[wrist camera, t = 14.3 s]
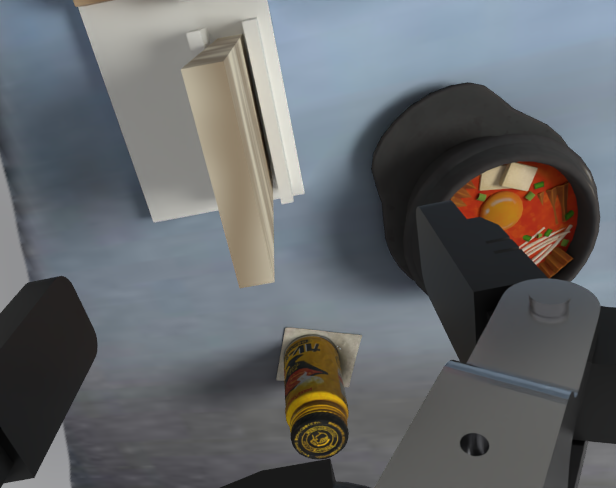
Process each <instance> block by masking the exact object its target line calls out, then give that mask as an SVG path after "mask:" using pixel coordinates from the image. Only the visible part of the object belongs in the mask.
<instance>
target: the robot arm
mask: <svg viewBox="0 0 616 488" xmlns="http://www.w3.org/2000/svg"><path fill="white" fill-rule="evenodd" d="M416 221H417V231H418V240H419V250H420V260H421V269H422V275H423V280H424V284H425V288H426V291H427V294H428V296H429V298H430V300H431V302H432V304H433V306H434V308H435V311H436V313H437V315H438V317H439V319H440V321H441V323H442V325H443V327H444V329H445V331H446V333H447V335H448V337H449V339H450V341H451V344H452V346H453V348H454V350H455V352H456V354H457V356H458V358H459V360H460V361H456V360H450V361H449V362H447V363H446V365H445V366H444V367H443V369H442V370H441V372H440V374H439V376H438V377H437V379H436V381H435V383H434V384H433V386H432V388H431V389H430V391H429V393H428V395H427V396H426V398H425V400H424V402H423V403H422V405H421V407H420V409H419V410H418V412H417V414H416V416H415V417H414V419H413V421H412V423H411V424H410V426H409V428H408V430H407V431H406V433H405V435H404V436H403V438H402V440H401V442H400V443H399V445H398V447H397V449H396V450H395V452H394V454H393V456H392V457H391V459H390V461H389V463H388V464H387V466H386V468H385V470H384V471H383V473H382V475H381V477H380V478H379V480H378V482H377V483H376V485H375V487H374V488H578V484H579V480H580V476H581V471H582V467H583V463H584V458H585V454H586V450H587V445H588V441H592V442H602V443H612V444H616V308H613V307H603V306H600V303H599V301H598V299H597V297H596V296H595V295H594V294H593V293H592V292H590V291H589V290H587V289H586V288H584V287H582V286H580V285H577V284H575V283H572V282H568V281H564V280H559V279H549V278H548V277H547V276H546V275H545V274H544V273H543V272H542V271H541V270H540V269H539V268H538V267H537V265H536V264H535V263H534V262H533V261H532V260H531V259H530V258H529V257H528V256H527V255H526V254H525V253H524V252H523V250H522V249H519V246H518V245H517V244H516V243H515V242H514V241H513V240H512V239H510V237H509V235H508V234H507V233H506V232H505V231H504V230H503V229H502V228H501V227H500V226H499V225H498V224H495V223H493V222H491V221H488V220H486V219H484V218H482V217H475V218H470V219H466V217H465V216H464V215H463V214H462V212H461V211H460V210H459V209H458V208H457V206H456V205H455V204H454V203H453V202H452V201H451V200H449V201H444V202H439V203H434V204H428V205H423V206H418V207H417V209H416ZM96 354H97V337H96V333H95V331H94V328H93V326H92V324H91V322H90V320H89V318H88V316H87V314H86V312H85V310H84V308H83V306H82V303H81V301H80V299H79V297H78V295H77V293H76V291H75V289H74V287H73V285H72V283H71V282H70V281H69V280H68V279H67V278H66V277H64V276H59V277H54V278H49V279H44V280H39V281H33V282H29V283H27V284H26V285H25V286H24V287H23V288H22V289H21V290H20V291H19V293H18V294H17V295H16V296H15V297H14V298H13V299H12V301H11V302H10V303H9V304H8V305H7V306H6V308H5V309H4V310H3V311H2V312H1V313H0V488H1V486H2V485H3V483H8V482H13V481H19V480H25V479H30V478H34V477H35V475H36V473H37V471H38V469H39V467H40V465H41V463H42V461H43V459H44V457H45V455H46V454H47V452H48V450H49V448H50V446H51V444H52V442H53V440H54V438H55V436H56V434H57V432H58V430H59V428H60V426H61V424H62V422H63V420H64V418H65V416H66V414H67V412H68V410H69V408H70V406H71V404H72V402H73V400H74V398H75V396H76V395H77V393H78V391H79V389H80V387H81V385H82V383H83V381H84V379H85V377H86V375H87V373H88V371H89V369H90V367H91V365H92V363H93V361H94V359H95V357H96ZM221 488H370V487H367V486H363V485H358V484H353V483H348V482H337V481H336V480H335V476H334V472H333V468H332V464H331V460H330V459H326V460H320V461H314V462H309V463H303V464H297V465H292V466H286V467H280V468H275V469H269V470H263V471H260V472H257V473H255V474H253V475H250V476H248V477H245V478H243V479H240V480H238V481H235V482H233V483H230V484H228V485H226V486H223V487H221Z"/></svg>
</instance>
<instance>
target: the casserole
mask: <svg viewBox="0 0 616 488" xmlns="http://www.w3.org/2000/svg"><path fill="white" fill-rule="evenodd" d="M371 169H372V173H373V177H374V180H375V184H376V187H377V190H378V193H379V196H380V199H381V202H382V210H383V221H384V230H385V239H386V241H387V244H388V247H389V250H390V253H391V255H392V256H393V258H394V260H395V261H396V263H397V264H398V266H399V267H400V268H401V269H402V270H403V271H404V272H405V273H406V274H407V275H408V276H409V277H410V278H411V279H412V280H414V281H415V282H416V283H417V285H418V286H419V287H420V288H421V289H422V290H423V291H424V292H425V293H426V294H427V291H426V288H425V284H424V280H423V275H422V269H421V260H420V250H419V240H418V231H417V221H416V209H417V207H418V206H423V205H428V204H434V203H439V202H444V201H449V200H451V201H452V202H453V203H454V204H455V205H456V206H457V208H458V209H459V210H460V211H461V212H462V214H463V215H464V216H465V217H466V219H470V218H475V217H482V218H484V219H486V220H488V221H491V222H493V223H495V224H498V225H499V226H500V227H501V228H502V229H503V230H504V231H505V232H506V233H507V234H508V235H509V237H510V239H512V240H513V241H514V242H515V243H516V244H517V245H518V246H519V249H522V250H523V252H524V253H525V254H526V255H527V256H528V257H529V258H530V259H531V260H532V261H533V262H534V263H535V264H536V265H537V267H538V268H539V269H540V270H541V271H542V272H543V273H544V274H545V275H546V276H547V277H548V278H549V279H559V280H564V281H568V282H571V281H572V280H573V279H574V278H575V277H576V275H577V274H578V273H579V271H580V270H581V269H582V267H583V266H584V265H585V264H586V262H587V260H588V258H589V256H590V254H591V252H592V250H593V248H594V245H595V242H596V239H597V236H598V232H599V223H600V211H599V203H598V196H597V187H596V185H595V182H594V179H593V176H592V174H591V171H590V170H589V168H588V167H587V166H586V164H585V163H584V161H583V160H582V158H581V157H580V156H579V155H577V154H576V153H575V152H574V151H573V150H571V149H570V148H569V147H568V146H567V144H566V143H565V141H564V140H563V139H562V137H561V136H560V135H559V134H558V133H556V132H555V131H554V130H553V129H552V128H551V127H549V126H548V125H547V124H545V123H543V122H541V121H539V120H537V119H534V118H532V117H530V116H528V115H526V114H524V113H522V112H520V111H518V110H516V109H513V108H512V107H511V106H510V105H509V104H508V103H506V102H505V101H504V100H503V99H502V98H500V97H499V96H498V95H497V94H495V93H494V92H492V91H491V90H490V89H488V88H487V87H486V86H484V85H479V84H474V83H468V82H467V83H462V84H456V85H451V86H448V87H445V88H443V89H440V90H438V91H435V92H433V93H430V94H429V95H427V96H426V97H424V98H422V99H421V100H419V101H418V102H416V103H414V104H413V105H411V106H410V107H409V108H408V109H407V110H406V111H404V112H403V113H402V114H401V115H400V116H399V117H398V118H397V119H396V120H395V121H394V122H393V123H392V124H391V126H390V127H389V128H388V130H387V131H386V132H385V133H384V135H383V136H382V137H381V139H380V141H379V143H378V145H377V147H376V149H375V151H374V153H373V161H372V168H371ZM427 295H428V294H427Z"/></svg>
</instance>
